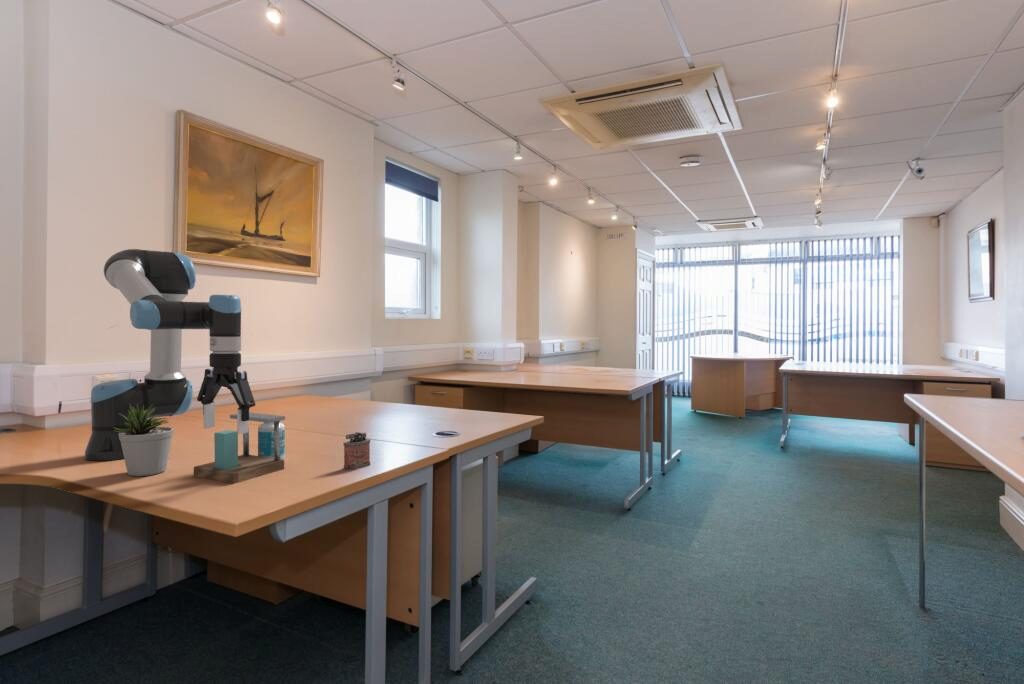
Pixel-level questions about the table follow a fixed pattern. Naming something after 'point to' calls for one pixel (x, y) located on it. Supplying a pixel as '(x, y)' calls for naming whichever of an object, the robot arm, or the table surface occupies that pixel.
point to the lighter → (356, 451)
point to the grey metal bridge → (267, 419)
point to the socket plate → (240, 469)
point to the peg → (226, 449)
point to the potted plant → (145, 443)
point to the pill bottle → (270, 440)
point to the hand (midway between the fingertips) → (225, 430)
